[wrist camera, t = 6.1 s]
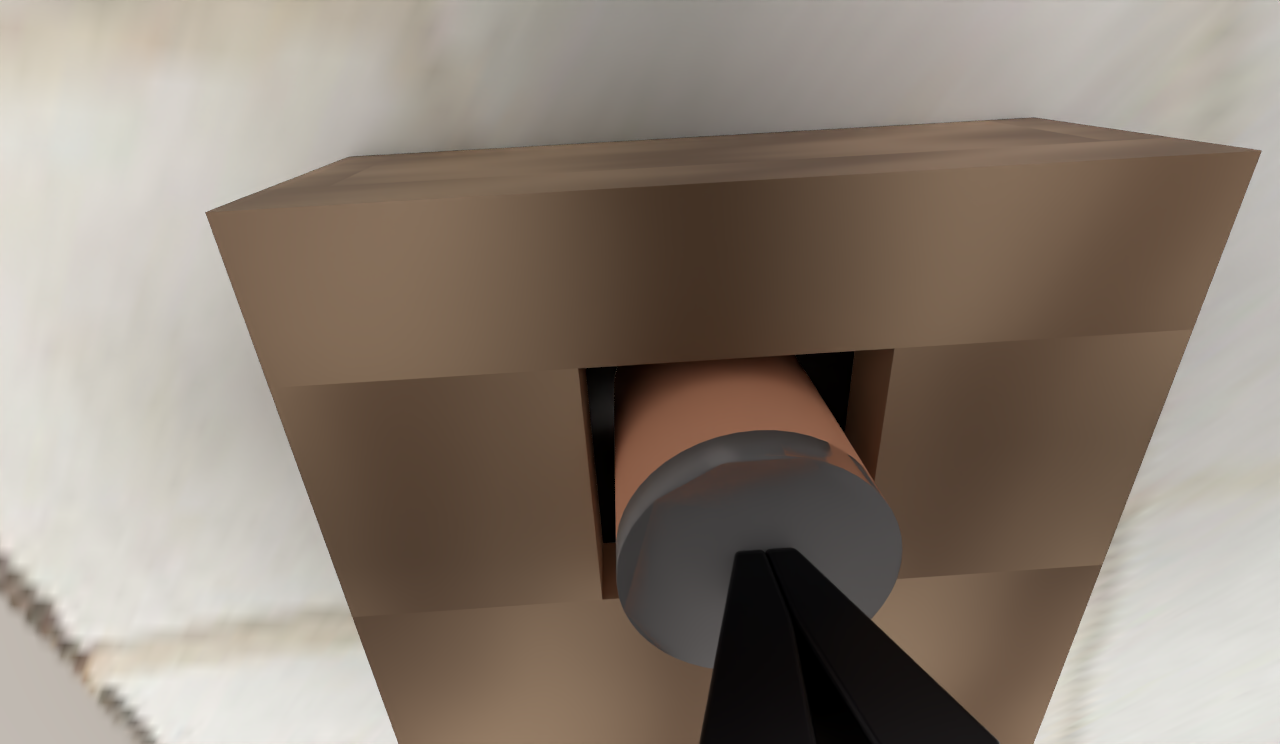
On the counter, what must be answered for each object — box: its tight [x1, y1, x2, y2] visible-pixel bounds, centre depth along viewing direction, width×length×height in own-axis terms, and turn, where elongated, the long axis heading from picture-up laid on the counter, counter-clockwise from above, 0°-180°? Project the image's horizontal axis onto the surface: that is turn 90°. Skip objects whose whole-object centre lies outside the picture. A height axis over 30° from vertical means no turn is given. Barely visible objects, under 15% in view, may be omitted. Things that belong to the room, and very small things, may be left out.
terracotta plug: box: [614, 355, 902, 669], centre depth 11 cm, size 4×4×6 cm
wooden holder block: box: [205, 118, 1261, 744], centre depth 15 cm, size 14×22×5 cm, turn 3°
